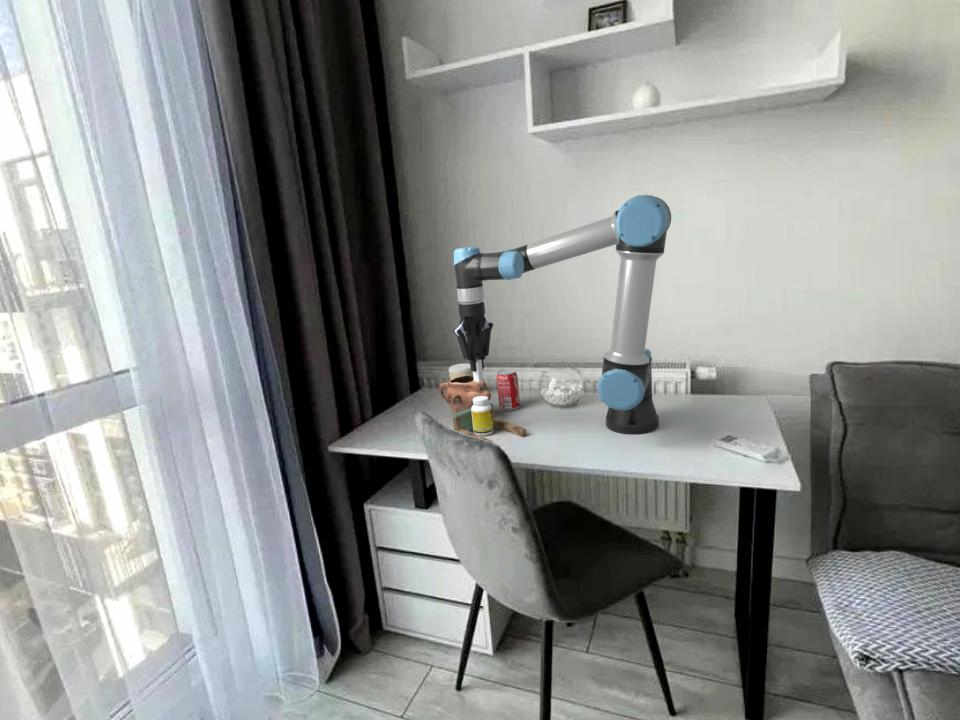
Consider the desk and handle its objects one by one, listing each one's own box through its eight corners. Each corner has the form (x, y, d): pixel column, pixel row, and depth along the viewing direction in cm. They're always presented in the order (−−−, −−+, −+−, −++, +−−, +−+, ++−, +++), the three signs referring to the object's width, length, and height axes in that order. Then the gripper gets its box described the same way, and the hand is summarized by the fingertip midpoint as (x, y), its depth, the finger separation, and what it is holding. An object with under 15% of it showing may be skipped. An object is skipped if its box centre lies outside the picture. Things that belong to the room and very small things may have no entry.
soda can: (520, 410, 185) (518, 373, 182) (499, 412, 185) (496, 375, 182) (519, 404, 192) (517, 367, 189) (499, 405, 192) (496, 369, 189)
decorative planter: (430, 422, 181) (426, 382, 178) (449, 410, 192) (445, 372, 188) (485, 427, 172) (481, 385, 169) (501, 415, 182) (498, 374, 179)
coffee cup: (476, 392, 210) (473, 362, 207) (477, 400, 200) (474, 368, 198) (451, 395, 209) (448, 364, 207) (451, 402, 200) (448, 370, 197)
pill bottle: (496, 434, 166) (493, 399, 163) (477, 438, 164) (473, 402, 162) (490, 427, 172) (487, 393, 169) (471, 431, 170) (467, 397, 167)
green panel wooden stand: (526, 435, 162) (524, 413, 161) (488, 449, 154) (486, 427, 153) (491, 422, 176) (489, 402, 174) (454, 435, 168) (452, 414, 166)
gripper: (481, 298, 165) (488, 374, 171) (444, 304, 158) (453, 384, 163) (497, 299, 159) (503, 378, 165) (459, 306, 152) (467, 388, 157)
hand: (478, 381), depth 164 cm, fingers closed
